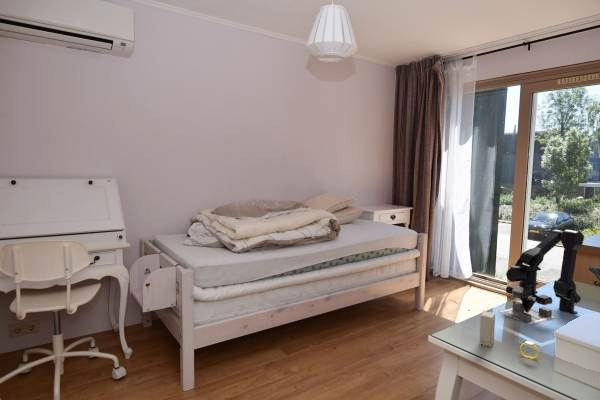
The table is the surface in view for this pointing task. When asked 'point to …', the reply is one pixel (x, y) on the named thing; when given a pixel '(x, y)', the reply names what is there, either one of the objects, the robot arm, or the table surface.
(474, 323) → the table surface
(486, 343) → the skincare box
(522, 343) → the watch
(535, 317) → the panel
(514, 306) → the block
